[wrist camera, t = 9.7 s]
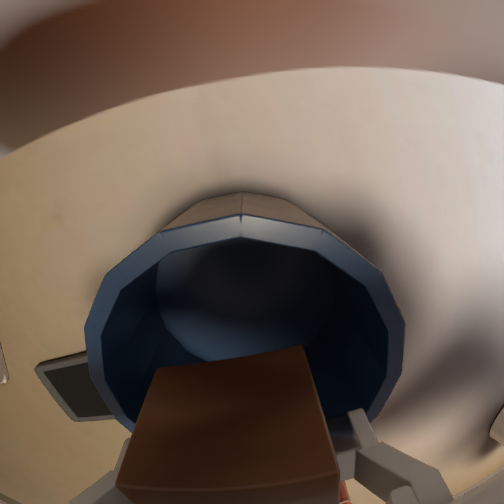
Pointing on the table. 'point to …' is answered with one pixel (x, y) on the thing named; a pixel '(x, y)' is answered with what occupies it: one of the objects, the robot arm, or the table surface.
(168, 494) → the block
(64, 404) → the cell phone
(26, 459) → the table surface
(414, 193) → the table surface
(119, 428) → the table surface
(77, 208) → the table surface
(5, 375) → the phone holder
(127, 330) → the tin
